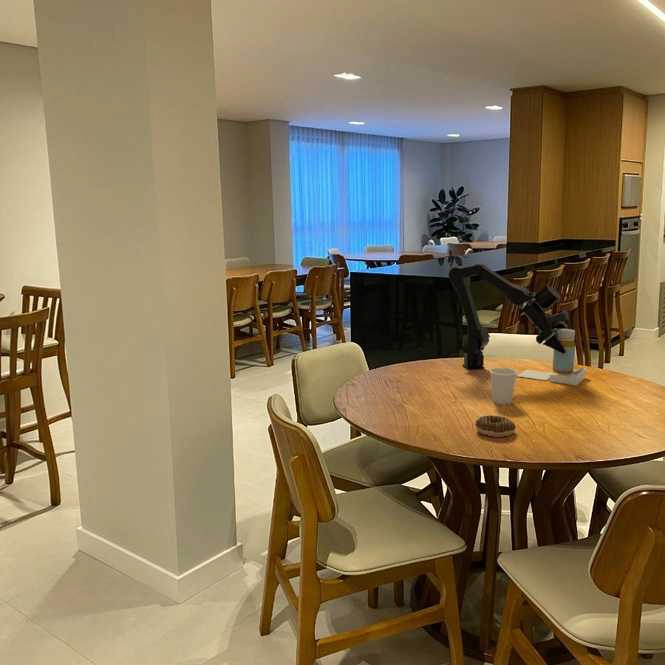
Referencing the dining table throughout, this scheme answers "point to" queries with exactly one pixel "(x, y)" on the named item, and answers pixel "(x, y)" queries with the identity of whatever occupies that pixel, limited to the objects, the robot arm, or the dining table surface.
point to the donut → (495, 426)
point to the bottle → (566, 360)
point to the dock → (569, 377)
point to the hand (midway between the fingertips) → (568, 351)
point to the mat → (535, 375)
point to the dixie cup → (503, 384)
